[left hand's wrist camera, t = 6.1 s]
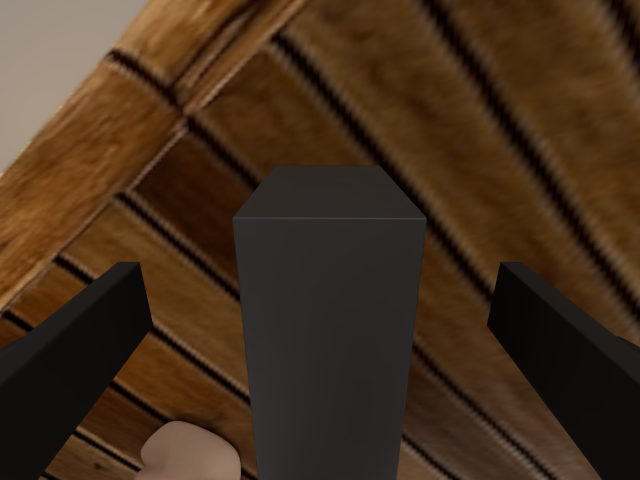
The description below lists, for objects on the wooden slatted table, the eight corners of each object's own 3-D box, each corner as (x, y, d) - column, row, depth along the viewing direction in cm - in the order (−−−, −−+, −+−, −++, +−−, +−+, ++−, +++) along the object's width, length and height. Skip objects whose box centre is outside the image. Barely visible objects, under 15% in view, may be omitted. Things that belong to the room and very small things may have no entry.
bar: (275, 165, 17) (231, 217, 9) (379, 165, 16) (427, 217, 9) (290, 477, 25) (274, 647, 17) (360, 478, 24) (376, 649, 17)
